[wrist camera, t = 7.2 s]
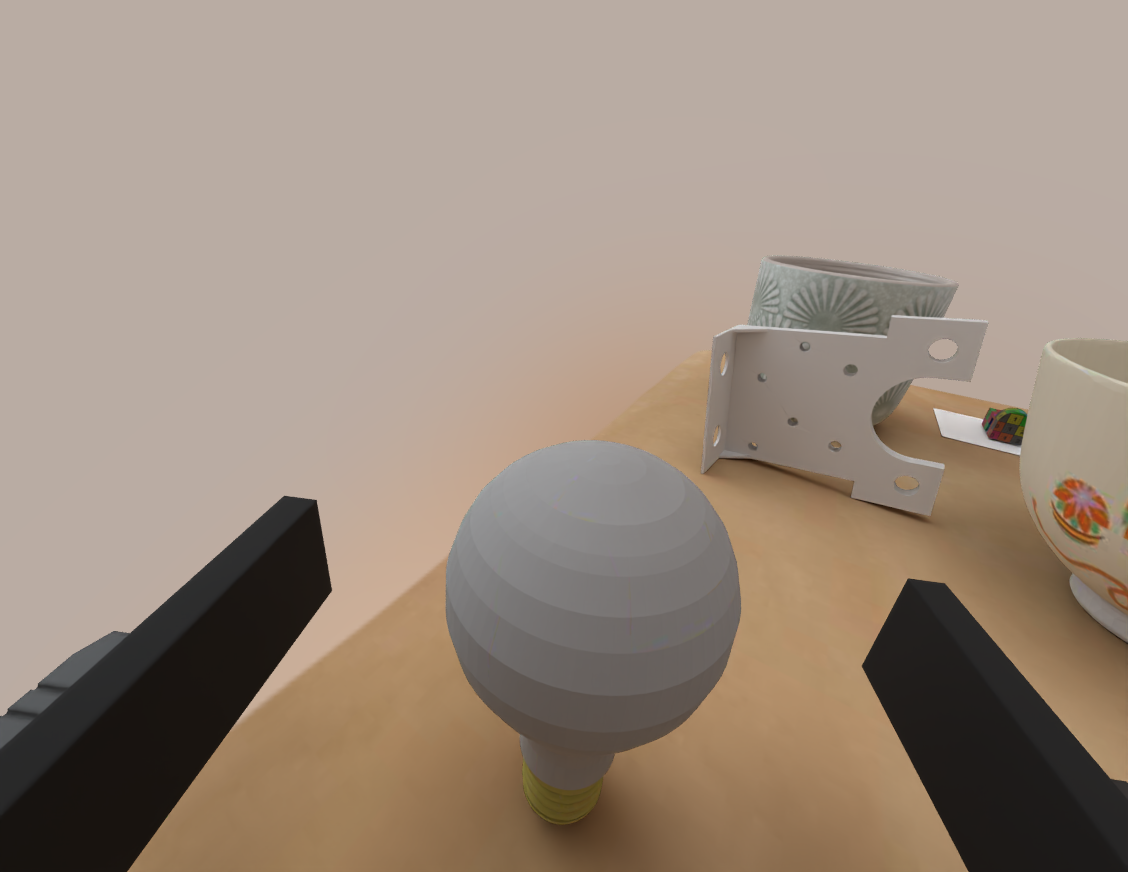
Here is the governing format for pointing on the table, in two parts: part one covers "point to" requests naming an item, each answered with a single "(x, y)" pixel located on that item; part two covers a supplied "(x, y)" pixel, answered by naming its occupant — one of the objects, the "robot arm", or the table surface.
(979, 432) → the white tile
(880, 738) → the table surface
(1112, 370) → the bowl
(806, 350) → the bracket
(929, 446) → the table surface
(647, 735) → the light bulb
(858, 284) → the planter
